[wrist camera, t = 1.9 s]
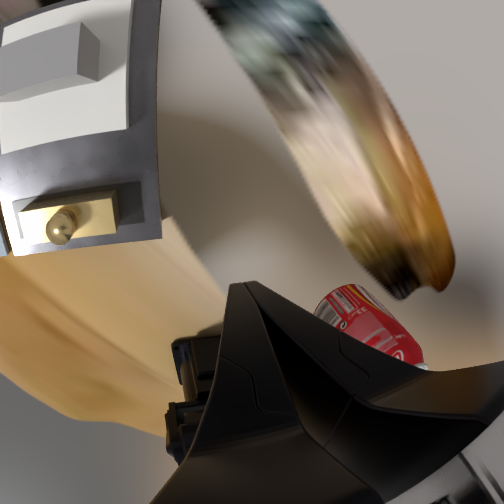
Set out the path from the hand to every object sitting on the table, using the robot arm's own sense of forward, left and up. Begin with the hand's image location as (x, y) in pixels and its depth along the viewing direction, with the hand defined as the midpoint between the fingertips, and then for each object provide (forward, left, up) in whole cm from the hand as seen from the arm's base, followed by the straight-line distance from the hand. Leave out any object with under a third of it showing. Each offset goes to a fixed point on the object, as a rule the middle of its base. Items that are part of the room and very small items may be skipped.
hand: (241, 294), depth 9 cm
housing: (+5, +8, -13) cm, 16 cm away
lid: (+8, +8, -10) cm, 15 cm away
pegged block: (0, +8, -10) cm, 13 cm away
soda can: (-14, -14, -13) cm, 24 cm away
